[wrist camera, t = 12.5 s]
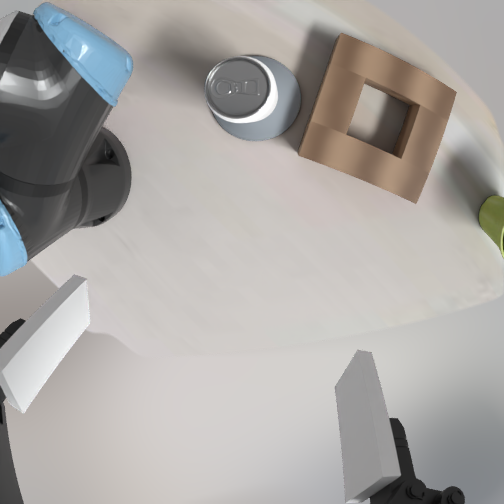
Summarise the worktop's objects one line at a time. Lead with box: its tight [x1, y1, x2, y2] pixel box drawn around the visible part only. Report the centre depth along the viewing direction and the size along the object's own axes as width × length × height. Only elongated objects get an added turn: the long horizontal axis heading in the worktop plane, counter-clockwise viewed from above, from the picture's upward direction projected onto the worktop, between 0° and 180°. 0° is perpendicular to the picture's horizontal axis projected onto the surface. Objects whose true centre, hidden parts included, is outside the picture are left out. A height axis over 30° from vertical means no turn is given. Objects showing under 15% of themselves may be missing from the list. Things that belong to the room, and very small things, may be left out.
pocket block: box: [297, 33, 457, 204], centre depth 32 cm, size 16×16×4 cm
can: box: [204, 56, 278, 123], centre depth 28 cm, size 6×6×12 cm
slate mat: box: [213, 56, 301, 141], centre depth 34 cm, size 11×11×1 cm
